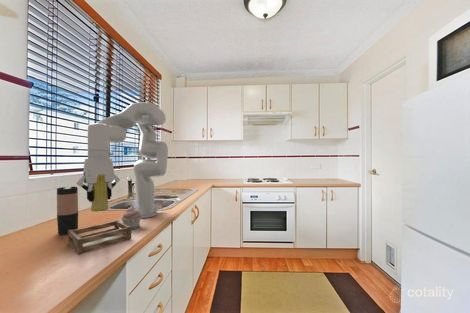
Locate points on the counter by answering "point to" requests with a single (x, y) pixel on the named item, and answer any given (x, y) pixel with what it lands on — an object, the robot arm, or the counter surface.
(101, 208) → the vase
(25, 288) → the counter surface
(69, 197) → the travel mug
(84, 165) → the robot arm
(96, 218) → the counter surface
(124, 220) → the cupcake
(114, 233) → the tray
